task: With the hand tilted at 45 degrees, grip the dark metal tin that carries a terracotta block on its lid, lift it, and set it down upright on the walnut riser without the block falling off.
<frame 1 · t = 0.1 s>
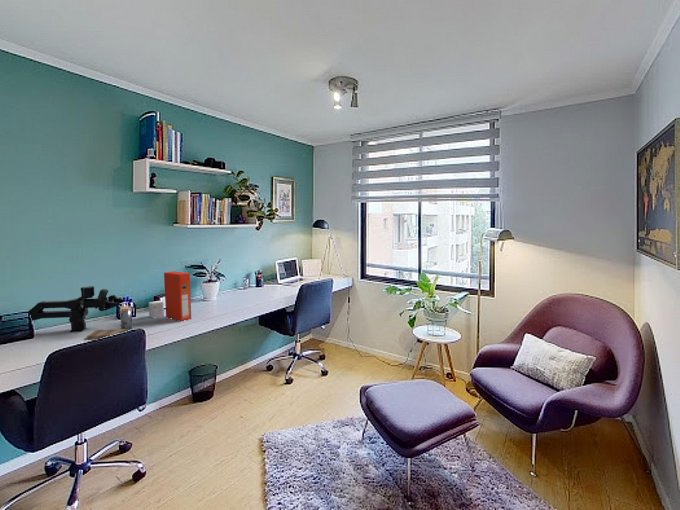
hand: (122, 302, 226), 17 cm above the table, tool horizontal, fingers open, 9 cm apart
small box: (156, 316, 255), on the table
file binder: (178, 318, 250), on the table
cargo block: (125, 310, 224), point 12 cm above the table, touching tin
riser: (108, 335, 213), on the table
tin: (126, 329, 225), on the table, touching cargo block
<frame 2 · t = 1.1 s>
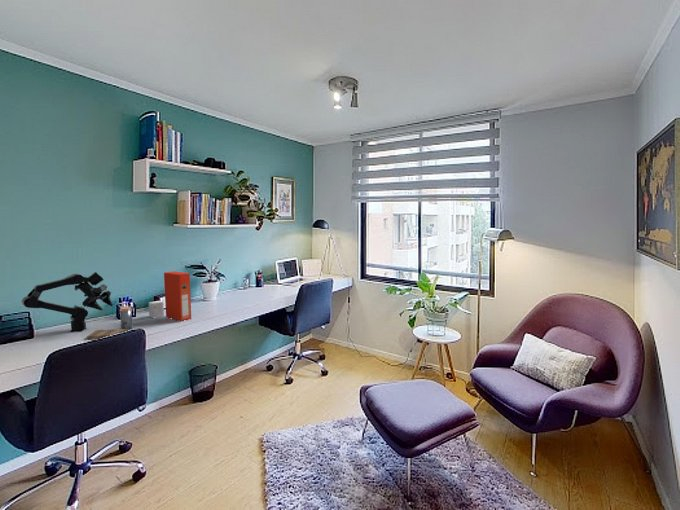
hand: (107, 307, 224), 14 cm above the table, tool tilted 45°, fingers open, 9 cm apart
nothing on the table moved.
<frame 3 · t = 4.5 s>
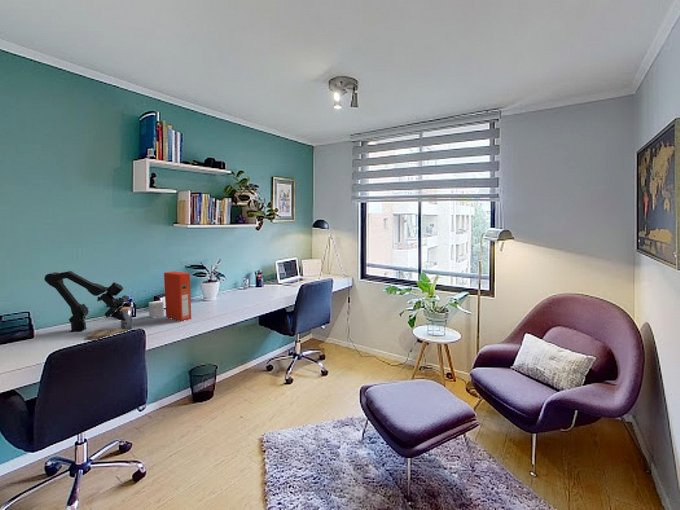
hand: (128, 318, 225), 7 cm above the table, tool tilted 45°, fingers closed on tin, 6 cm apart
tin: (126, 329, 225), on the table, touching cargo block, gripper
everything else where it was.
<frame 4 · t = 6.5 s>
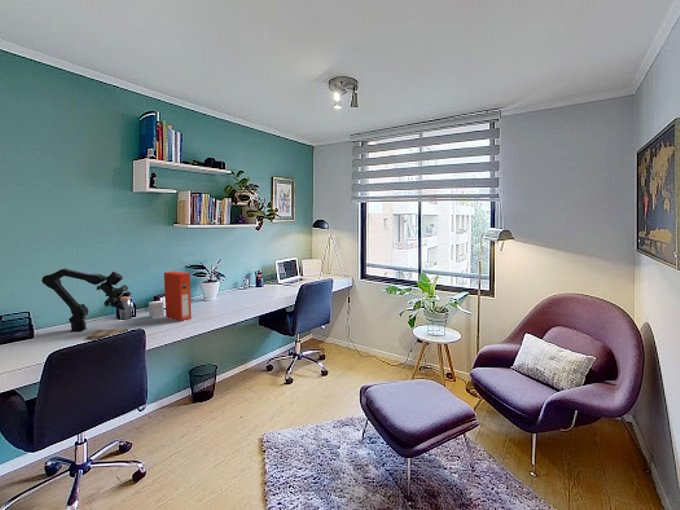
hand: (127, 308, 224), 13 cm above the table, tool tilted 45°, fingers closed on tin, 6 cm apart
cargo block: (125, 299, 223), point 19 cm above the table, touching tin
tin: (125, 318, 225), point 7 cm above the table, touching cargo block, gripper
everything else where it was.
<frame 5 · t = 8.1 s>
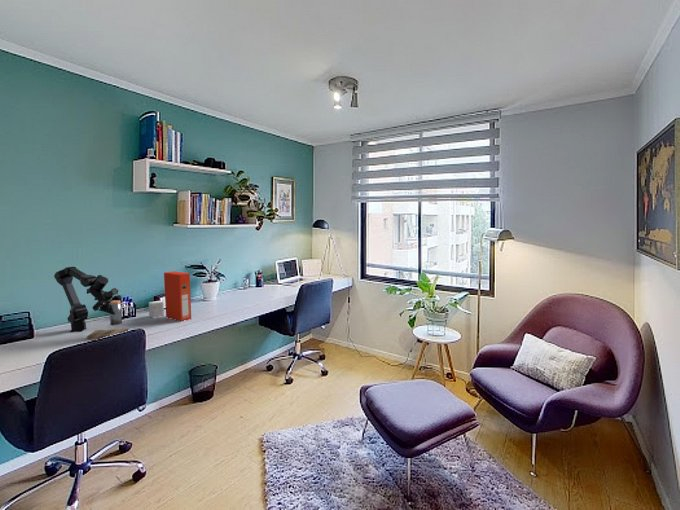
hand: (118, 312, 213), 13 cm above the table, tool tilted 45°, fingers closed on tin, 6 cm apart
cargo block: (115, 303, 213), point 19 cm above the table, touching tin
tin: (116, 323, 214), point 7 cm above the table, touching cargo block, gripper
everything else where it was.
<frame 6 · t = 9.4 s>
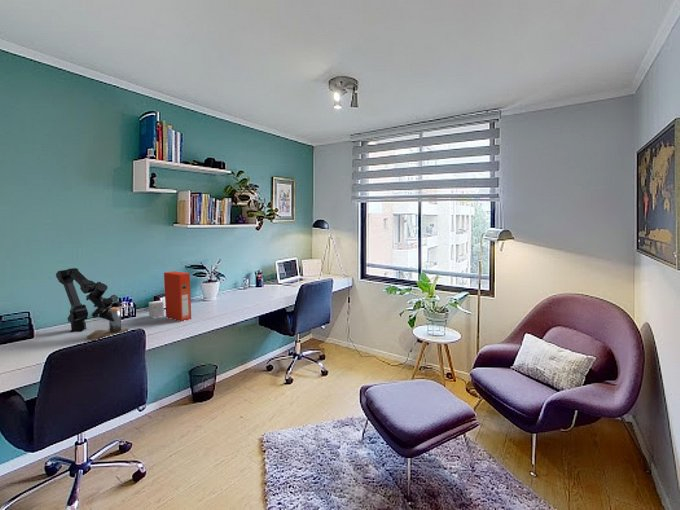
hand: (117, 319, 213), 10 cm above the table, tool tilted 45°, fingers closed on tin, 6 cm apart
cargo block: (114, 310, 212), point 15 cm above the table, touching tin
tin: (115, 330, 214), point 3 cm above the table, touching cargo block, gripper
everything else where it was.
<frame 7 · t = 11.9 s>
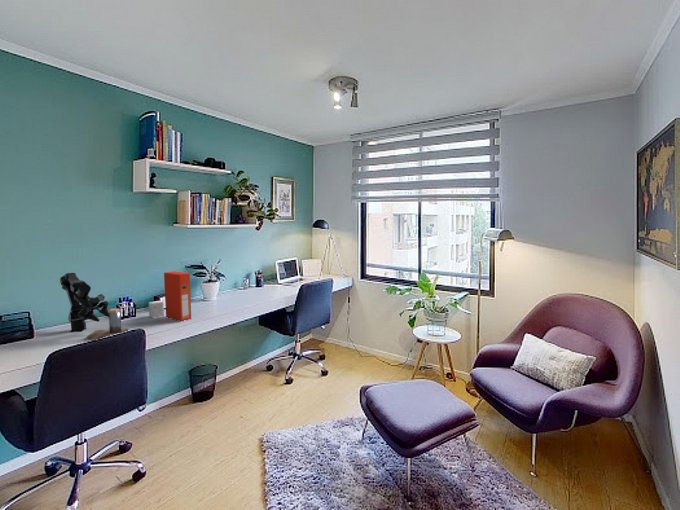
hand: (104, 318, 213), 10 cm above the table, tool tilted 45°, fingers open, 9 cm apart
cargo block: (114, 312, 213), point 14 cm above the table, touching tin
tin: (115, 331, 214), point 2 cm above the table, touching cargo block, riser
everything else where it was.
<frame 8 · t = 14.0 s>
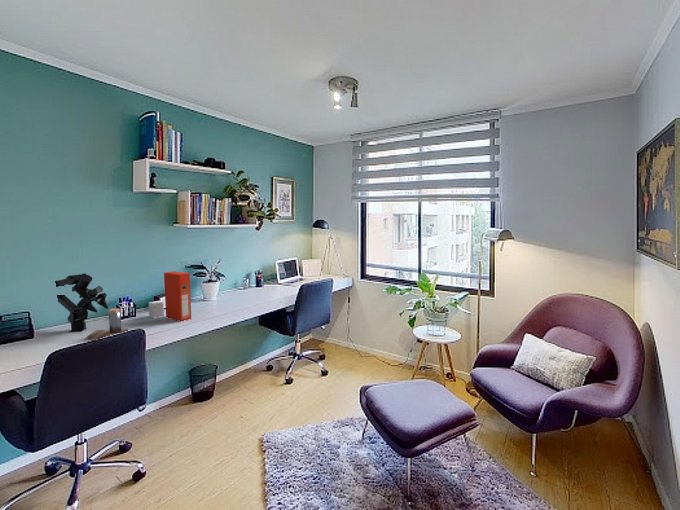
hand: (102, 310, 218), 14 cm above the table, tool tilted 45°, fingers open, 9 cm apart
nothing on the table moved.
at the end: tin inside the target area on the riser (3.3 cm from its centre), point 2.0 cm above the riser's base; tin tilted 0°; cargo block 0.4 cm off-centre on the tin, point 12.0 cm above the tin's base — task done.
